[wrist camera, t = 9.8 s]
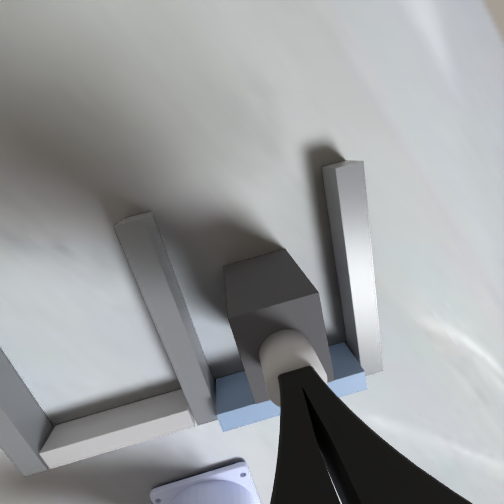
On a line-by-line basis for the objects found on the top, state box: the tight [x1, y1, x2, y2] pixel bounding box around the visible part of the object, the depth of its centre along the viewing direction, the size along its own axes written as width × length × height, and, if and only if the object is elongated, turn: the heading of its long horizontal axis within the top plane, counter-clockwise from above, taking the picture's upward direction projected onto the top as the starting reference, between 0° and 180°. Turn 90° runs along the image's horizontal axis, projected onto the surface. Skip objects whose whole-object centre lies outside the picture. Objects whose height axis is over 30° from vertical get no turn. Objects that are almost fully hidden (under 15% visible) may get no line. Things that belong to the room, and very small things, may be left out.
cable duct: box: [0, 160, 383, 477], centre depth 17 cm, size 14×24×3 cm, turn 103°
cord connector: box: [223, 249, 335, 407], centre depth 15 cm, size 5×4×8 cm
